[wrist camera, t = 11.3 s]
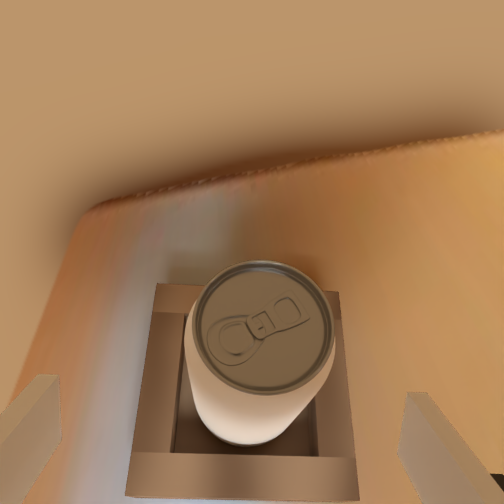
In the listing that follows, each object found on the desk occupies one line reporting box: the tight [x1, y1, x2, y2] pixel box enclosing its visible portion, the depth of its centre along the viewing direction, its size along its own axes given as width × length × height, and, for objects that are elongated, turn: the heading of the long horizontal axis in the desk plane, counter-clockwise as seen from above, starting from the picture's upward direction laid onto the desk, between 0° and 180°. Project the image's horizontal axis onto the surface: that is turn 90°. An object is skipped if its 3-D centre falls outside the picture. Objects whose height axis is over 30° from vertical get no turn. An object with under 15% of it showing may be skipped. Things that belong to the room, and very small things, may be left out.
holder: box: [125, 283, 360, 502], centre depth 26 cm, size 12×12×4 cm
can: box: [184, 260, 335, 447], centre depth 22 cm, size 6×6×12 cm
